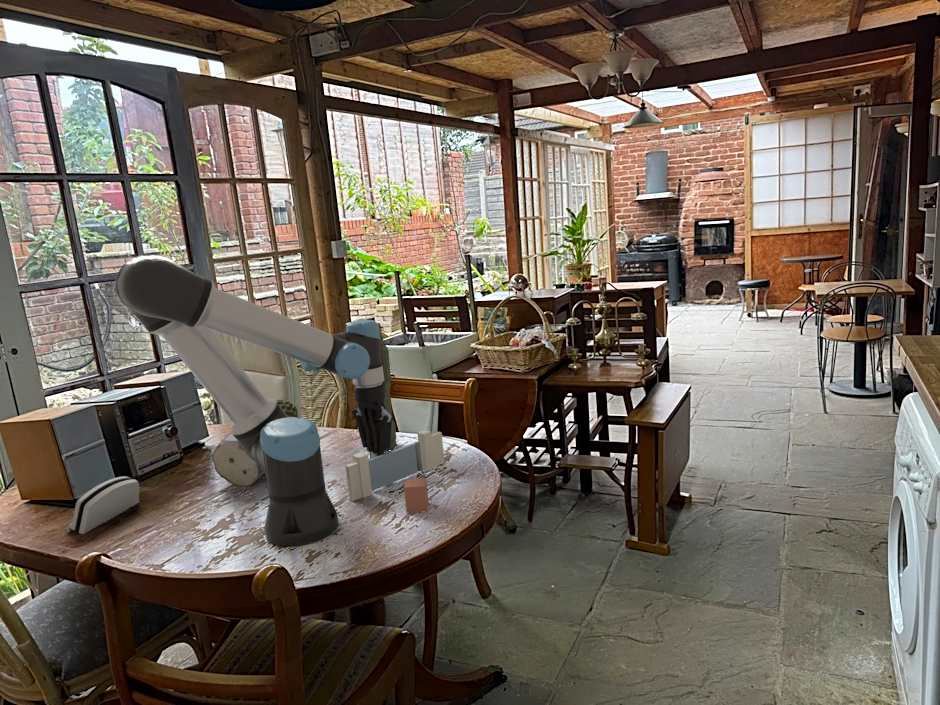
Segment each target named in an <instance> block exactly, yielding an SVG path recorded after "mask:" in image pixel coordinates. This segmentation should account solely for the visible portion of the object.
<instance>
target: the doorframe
mask: <svg viewBox="0 0 940 705" xmlns="http://www.w3.org/2000/svg"><path fill="white" fill-rule="evenodd" d="M417 442H420V452H421V462H422V471H424V470H425V471H424V472H427V471H428V472H430V471H433V470H435V469H436V466H437V467H439V466H438V465H440V464H442V463H444V462H445V454H444V443H443V433H442V432H441V431H436V432H434V433H432V431H430V430H427V429H423V430H420V431H418V432H417ZM368 460H369V455H368V454H366V453H364V452H359V453H357V454H354V455H352V462H353V463H350V464H347V465H345V471H346V480H347V488H348V495H349V497H348V498H349V501H351V502H354V501H357V500H360V499H365V498H367V497H370V496H372V495H373V491H372V488H371V479H370V471H369V462H368ZM444 464H445V463H444ZM442 465H443V464H442ZM440 466H441V465H440ZM434 468H435V469H434ZM432 469H433V470H432ZM429 470H430V471H429Z"/></svg>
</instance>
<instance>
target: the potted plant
mask: <svg viewBox="0 0 940 705" xmlns="http://www.w3.org/2000/svg"><path fill="white" fill-rule="evenodd" d="M276 402H277V403H278V404H279V405H280V407H281V408H282V409H283V411H284V412H285V413H286V415H287V416H288V417H298V418H299V416H300V415H299V412H298V411H299V410H298V407H297V406H296V405H295V404H294V403H293V402H292V401H290V400H284V399H278V400H276ZM229 426H230V427H229V433H228V434H227V436H225V437H224V438H223V439H222V440H221V441H220V442H219V443H218V444H217V446H216V447H215V449H214V450H213V452H212V454H211V459H212V463H213V467H214V471H215V472H216V473H217V474H218V475H219V476H220V478H221V479H224V480H225V481H226V482H228V483H230V484H232V485H234V486H236V487H249V486H252V485H253V484H254V483H255V482H256V481H258V480H259V479H260V478H261V477H262V476H263V475H265V471H264V470H263V469H262V468H261V467H260V466H259V465H258V464H257V463H256V462H255V461H254V460H252V459H251V458H250V457H249V456H248V455H247V454H246V453H245V451H244V448H243V447H242V445H241V444H240V443H239V442H238V440H237V439H236V438H235V437H234V435H233V434H232V433H231V426H232V423H231V425H229Z"/></svg>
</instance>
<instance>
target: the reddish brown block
mask: <svg viewBox="0 0 940 705" xmlns="http://www.w3.org/2000/svg"><path fill="white" fill-rule="evenodd" d="M427 484H428V483H427V478H425V477H423V478H412V479H409V478H408V479H405V482H404V486H403V491H404V500H405V501H404V502H405V509H406V510H405V511H406V514H410V513H411V512H414V513H423V512H422V511H427V512H428V509H429V508H428V507H429V503H428V502H429V495H428V485H427ZM427 508H428V509H427ZM411 514H412V513H411Z"/></svg>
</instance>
